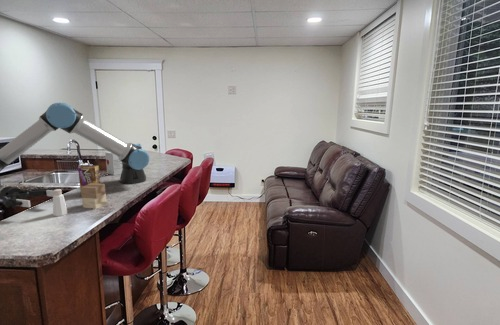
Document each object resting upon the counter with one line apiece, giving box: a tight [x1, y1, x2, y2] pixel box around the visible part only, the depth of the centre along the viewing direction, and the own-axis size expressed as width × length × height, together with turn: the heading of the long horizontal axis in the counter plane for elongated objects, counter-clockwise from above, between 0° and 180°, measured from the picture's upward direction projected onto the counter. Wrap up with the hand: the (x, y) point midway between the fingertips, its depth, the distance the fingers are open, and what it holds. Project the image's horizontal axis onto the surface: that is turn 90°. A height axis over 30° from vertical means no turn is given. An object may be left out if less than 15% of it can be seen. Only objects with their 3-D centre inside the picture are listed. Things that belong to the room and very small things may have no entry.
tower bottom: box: [81, 194, 108, 210], centre depth 135 cm, size 7×7×5 cm
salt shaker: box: [52, 188, 68, 217], centre depth 123 cm, size 5×5×11 cm
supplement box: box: [104, 151, 122, 176], centre depth 197 cm, size 9×9×15 cm
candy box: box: [77, 165, 101, 196], centre depth 151 cm, size 9×4×15 cm, turn 89°
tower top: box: [80, 183, 107, 199], centre depth 134 cm, size 7×7×5 cm
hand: (44, 198), depth 125 cm, fingers open, 13 cm apart
